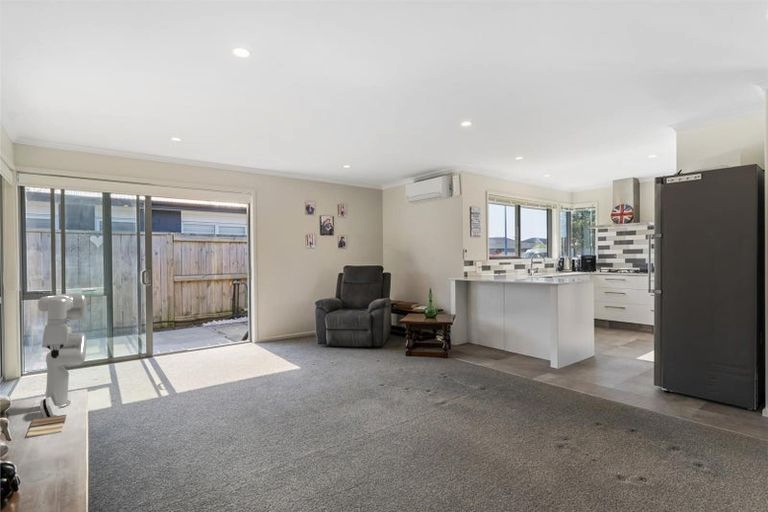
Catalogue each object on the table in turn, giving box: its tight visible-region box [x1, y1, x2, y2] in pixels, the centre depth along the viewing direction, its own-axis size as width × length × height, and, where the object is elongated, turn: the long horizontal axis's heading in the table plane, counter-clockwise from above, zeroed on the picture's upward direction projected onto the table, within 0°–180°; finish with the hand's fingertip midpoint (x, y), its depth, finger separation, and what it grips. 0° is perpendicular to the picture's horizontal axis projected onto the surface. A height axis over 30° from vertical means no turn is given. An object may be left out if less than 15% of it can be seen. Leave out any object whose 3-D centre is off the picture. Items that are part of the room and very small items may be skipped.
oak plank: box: [25, 423, 64, 439], centre depth 185 cm, size 11×12×2 cm
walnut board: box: [29, 414, 67, 429], centre depth 195 cm, size 12×13×2 cm
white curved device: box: [39, 397, 60, 418], centre depth 207 cm, size 17×5×10 cm, turn 38°
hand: (54, 357), depth 200 cm, fingers closed
